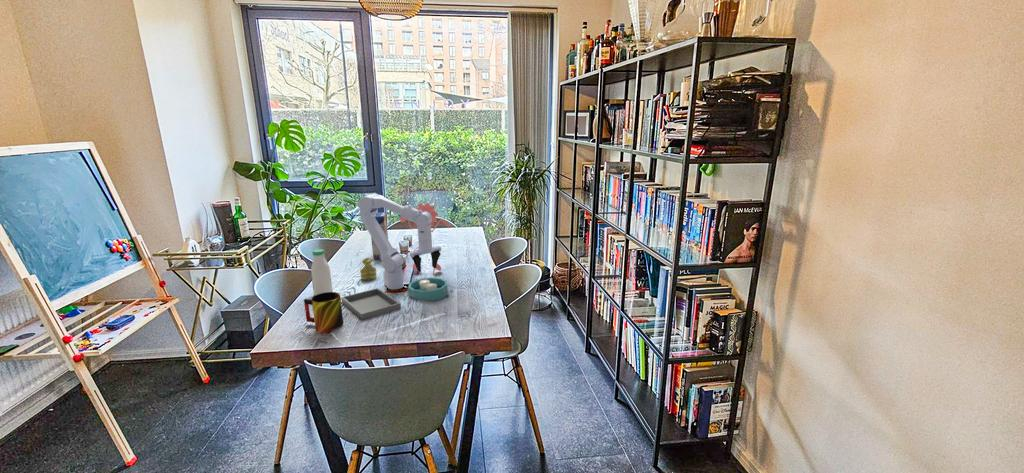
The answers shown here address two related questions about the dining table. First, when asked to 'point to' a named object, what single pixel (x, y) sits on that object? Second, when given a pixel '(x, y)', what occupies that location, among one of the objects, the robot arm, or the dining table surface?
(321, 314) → the mug
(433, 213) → the figurine
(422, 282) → the stone
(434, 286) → the stone
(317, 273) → the milk bottle
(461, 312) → the dining table surface
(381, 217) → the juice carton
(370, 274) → the olive yellow vase
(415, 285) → the bowl
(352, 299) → the tray
